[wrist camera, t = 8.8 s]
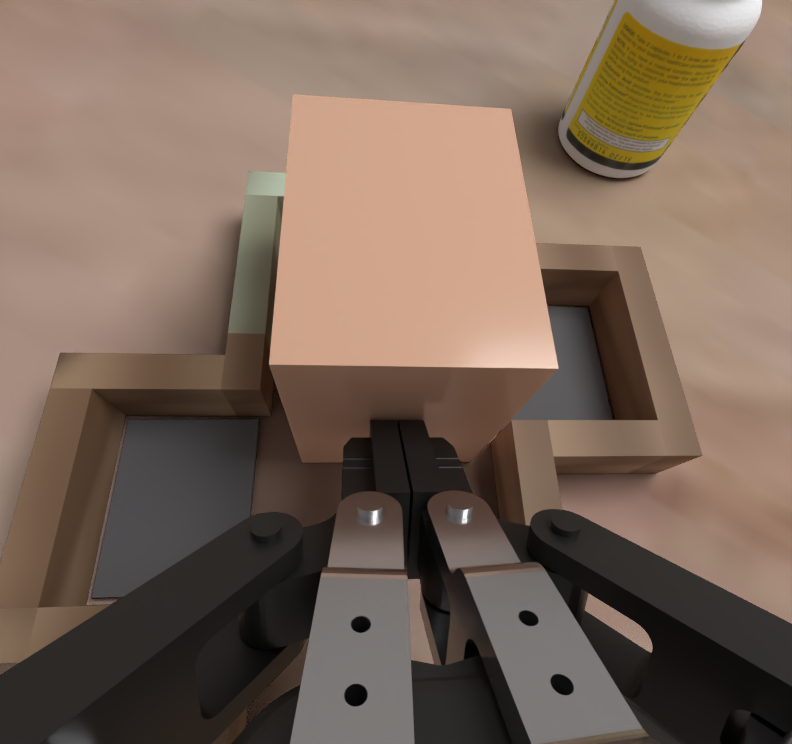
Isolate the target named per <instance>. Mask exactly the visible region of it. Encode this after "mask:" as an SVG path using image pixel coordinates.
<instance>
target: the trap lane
mask: <svg viewBox="0 0 792 744" xmlns="http://www.w3.org/2000/svg"><path fill="white" fill-rule="evenodd" d="M285 180H286V173H276V172H256V171H248V179H247V187H246V195H245V202H244V210H243V218H242V226H241V234H240V242H239V249H238V257H237V265H236V273H235V281H234V288H233V296H232V304H231V312H230V320H229V328H228V335H227V343H226V351H225V355H193V354H118V353H60V355H59V358H58V362H57V365H56V369H55V372H54V376H53V379H52V383H51V386H50V390H49V393H48V397H47V400H46V404H45V407H44V411H43V414H42V418H41V421H40V425H39V428H38V432H37V435H36V439H35V442H34V446H33V449H32V453H31V456H30V460H29V464H28V467H27V471H26V474H25V478H24V481H23V485H22V488H21V492H20V495H19V499H18V502H17V506H16V509H15V513H14V516H13V520H12V523H11V527H10V530H9V534H8V537H7V541H6V544H5V548H4V551H3V555H2V558H1V562H0V664H1V663H20V662H21V661H23V660H25V659H26V658H28V657H29V656H31V655H32V654H34V653H36V652H37V651H39V650H40V649H42V648H43V647H45V646H47V645H48V644H50V643H51V642H53V641H54V640H56V639H58V638H59V637H61V636H62V635H64V634H65V633H67V632H69V631H70V630H72V629H73V628H75V627H76V626H78V625H80V624H81V623H83V622H84V621H86V620H87V619H89V618H91V617H92V616H94V615H95V614H97V613H98V612H100V611H102V610H103V609H105V608H106V607H108V606H109V605H86V603H87V598H88V593H89V589H90V584H91V579H92V574H93V570H94V565H95V560H96V555H97V551H98V546H99V541H100V536H101V532H102V527H103V522H104V517H105V512H106V508H107V503H108V498H109V493H110V489H111V484H112V479H113V474H114V470H115V465H116V460H117V455H118V451H119V446H120V441H121V436H122V431H123V427H124V422H125V417H126V416H271V411H272V399H273V386H274V378H273V375H272V372H271V369H270V366H269V359H270V348H271V336H272V325H273V314H274V303H275V292H276V280H277V269H278V258H279V247H280V236H281V224H282V213H283V202H284V191H285ZM536 248H537V253H538V259H539V264H540V270H541V275H542V281H543V286H544V292H545V297H546V303H547V305H566V306H589V309H590V314H591V318H592V323H593V327H594V331H595V336H596V340H597V345H598V349H599V353H600V358H601V362H602V366H603V371H604V375H605V380H606V384H607V388H608V393H609V397H610V402H611V406H612V410H613V415H614V419H615V420H511V421H510V422H509V423H508V424H507V425H506V426H505V427H504V429H503V430H502V431H501V432H500V433H499V434H498V435H497V436H496V437H495V438H494V439H493V440H492V441H491V450H492V459H493V467H494V476H495V485H496V494H497V502H498V511H499V519H501V520H504V521H508V522H513V523H518V524H523V525H528V526H530V522H531V518H532V517H533V515H534V514H535V513H537V512H539V511H542V510H546V509H560V510H562V504H561V498H560V492H559V486H558V480H557V474H593V473H658V472H661V471H664V470H666V469H669V468H671V467H674V466H676V465H679V464H682V463H684V462H687V461H689V460H692V459H695V458H697V457H700V456H702V453H701V449H700V446H699V442H698V439H697V436H696V432H695V429H694V426H693V422H692V419H691V415H690V412H689V409H688V405H687V402H686V399H685V395H684V392H683V389H682V385H681V382H680V378H679V375H678V372H677V368H676V365H675V362H674V358H673V355H672V351H671V348H670V345H669V341H668V338H667V335H666V331H665V328H664V324H663V321H662V318H661V314H660V311H659V308H658V304H657V301H656V297H655V294H654V291H653V287H652V284H651V281H650V277H649V274H648V271H647V267H646V264H645V260H644V257H643V254H642V250H641V247H629V246H602V245H576V244H549V243H536ZM247 713H248V707H247V708H246V709H245V710H244V711H243V712H242V713H241V714H240V715H239V716H238V717H237V718H236V719H235V720H234V721H233V722H232V723H231V724H230V725H229V726H228V728H227V729H226V730H225V731H224V732H223V733H222V734H221V735H220V736H219V737H218V738H217V739H216V740H215V741H214V742H213V743H212V744H231V743H232V742H233V741H234V740H235V739H236V738H237V737H238V736H239V734H240V733H241V732H242V731H243V730H244V729H245V728H246V726H247Z"/></svg>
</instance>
